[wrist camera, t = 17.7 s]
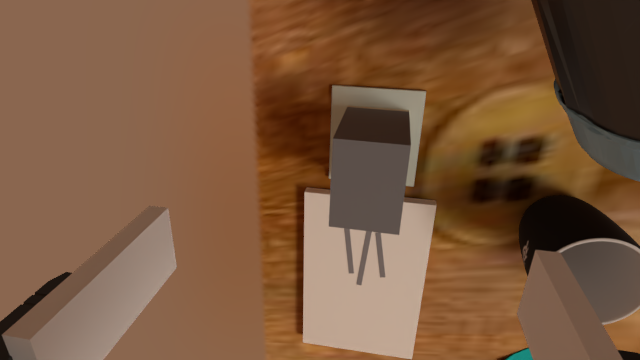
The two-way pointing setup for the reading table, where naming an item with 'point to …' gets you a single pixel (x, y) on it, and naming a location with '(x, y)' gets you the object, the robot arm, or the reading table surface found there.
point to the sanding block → (370, 169)
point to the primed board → (364, 279)
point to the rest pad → (381, 99)
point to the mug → (586, 252)
